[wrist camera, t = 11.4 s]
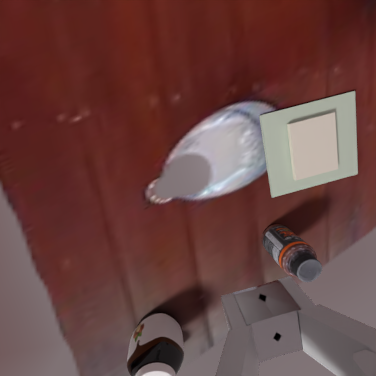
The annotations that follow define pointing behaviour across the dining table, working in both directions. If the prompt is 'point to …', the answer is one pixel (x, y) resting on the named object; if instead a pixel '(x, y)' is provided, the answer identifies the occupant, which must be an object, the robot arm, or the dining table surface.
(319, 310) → the robot arm
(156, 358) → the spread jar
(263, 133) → the mat
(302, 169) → the tile
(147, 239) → the dining table surface
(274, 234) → the supplement bottle
